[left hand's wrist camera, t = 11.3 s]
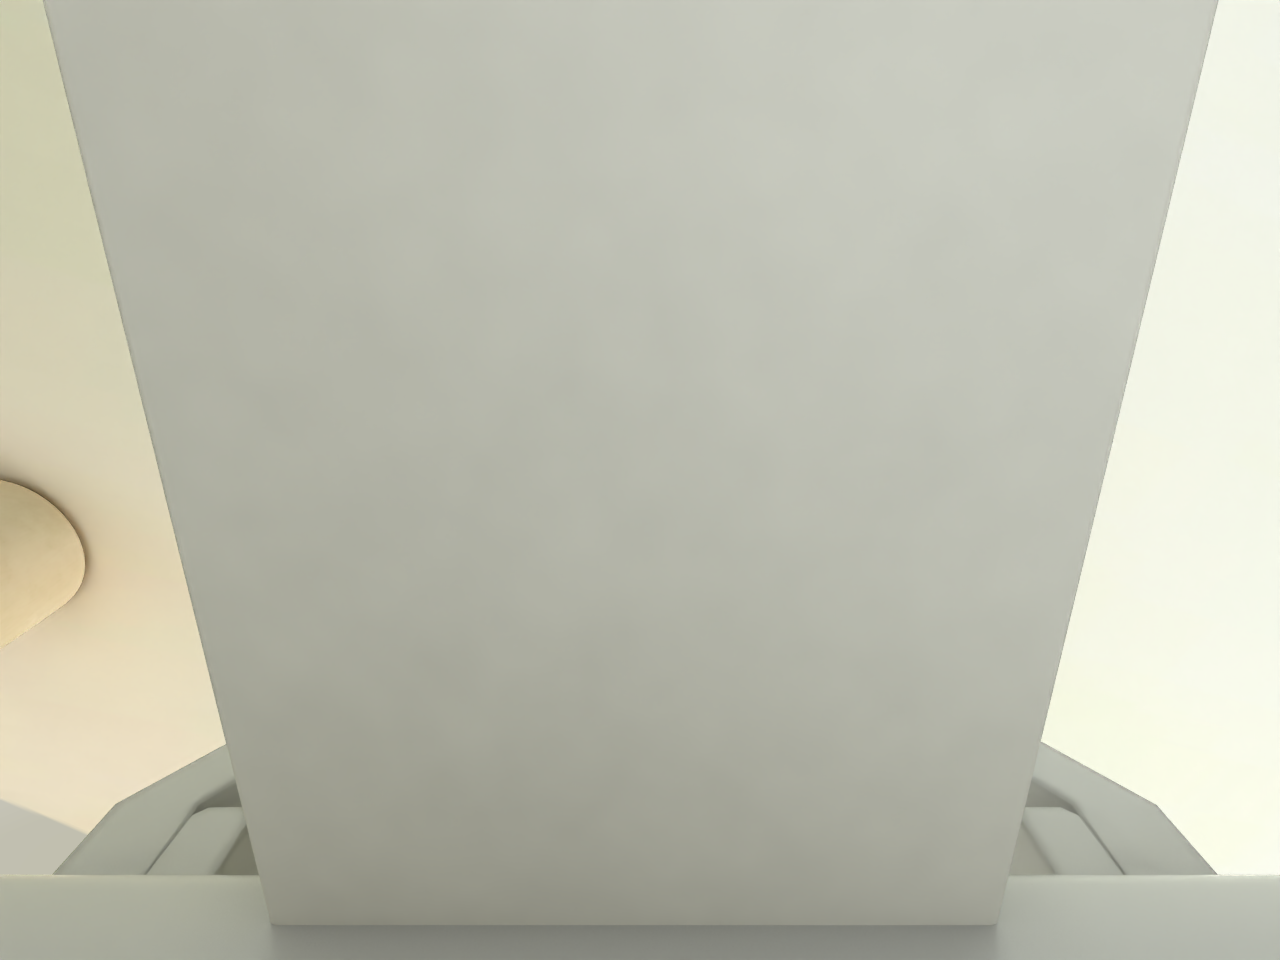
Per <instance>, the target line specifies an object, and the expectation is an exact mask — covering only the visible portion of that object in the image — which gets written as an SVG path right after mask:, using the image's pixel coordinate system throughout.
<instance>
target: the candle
mask: <svg viewBox="0 0 1280 960" xmlns="http://www.w3.org/2000/svg"><path fill="white" fill-rule="evenodd" d="M84 573H85V557H84V552H83V548H82V545H81V542H80V540H79V537H78V536H77V534H76V532H75V530H74V528H73V527H72V525H71V524H70V522H69V521H68V520H67V519H66V518H65V516H64V515H63V514H62V513H61V512H60V511H59V510H58V509H57V508H56V507H55V506H54V505H52V504H51V503H50V502H49V501H47V500H46V499H45V498H43V497H41V496H40V495H38V494H37V493H35V492H33V491H31V490H29V489H27V488H25V487H22V486H20V485H17V484H14V483H11V482H7V481H2V480H0V649H1V648H3V647H4V646H6V645H7V644H9V643H10V642H12V641H13V640H15V639H16V638H18V637H19V636H21V635H22V634H24V633H25V632H26V631H28V630H29V629H31V628H32V627H34V626H35V625H37V624H38V623H40V622H41V621H43V620H44V619H45V618H47V617H48V616H50V615H51V614H52V613H54V612H55V611H57V610H58V609H59V608H61V607H62V606H64V605H65V604H66V603H67V602H68V601H69V600H70V599H71V598H72V597H73V596H74V595H75V594H76V592H77V591H78V589H79V588H80V585H81V583H82V581H83V577H84Z"/></svg>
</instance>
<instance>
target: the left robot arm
mask: <svg viewBox="0 0 1280 960" xmlns="http://www.w3.org/2000/svg"><path fill="white" fill-rule="evenodd" d="M0 960H1280V875H1217V873H1216V872H1215V871H1214V870H1213V869H1212V868H1211V867H1210V865H1209V864H1208V863H1207V862H1206V861H1205V860H1204V859H1203V857H1202V856H1201V855H1200V854H1199V853H1198V852H1197V851H1196V850H1195V848H1194V847H1193V846H1192V845H1191V844H1190V843H1189V842H1188V840H1187V839H1186V838H1185V837H1184V836H1183V835H1182V834H1181V832H1180V831H1179V830H1178V829H1177V828H1176V827H1175V826H1174V824H1173V823H1172V822H1171V821H1170V820H1169V819H1168V818H1167V816H1166V815H1165V814H1164V813H1163V812H1162V811H1161V810H1160V809H1159V807H1158V806H1157V805H1155V804H1153V803H1152V802H1150V801H1148V800H1146V799H1144V798H1143V797H1141V796H1139V795H1137V794H1135V793H1134V792H1132V791H1130V790H1128V789H1126V788H1124V787H1123V786H1121V785H1119V784H1117V783H1115V782H1114V781H1112V780H1110V779H1108V778H1106V777H1104V776H1103V775H1101V774H1099V773H1097V772H1095V771H1094V770H1092V769H1090V768H1088V767H1086V766H1084V765H1083V764H1081V763H1079V762H1077V761H1075V760H1074V759H1072V758H1070V757H1068V756H1066V755H1064V754H1063V753H1061V752H1059V751H1057V750H1055V749H1054V748H1052V747H1050V746H1048V745H1046V744H1044V743H1043V742H1040V746H1039V750H1038V754H1037V758H1036V762H1035V767H1034V771H1033V775H1032V779H1031V783H1030V787H1029V792H1028V796H1027V800H1026V804H1025V808H1024V813H1023V817H1022V821H1021V825H1020V829H1019V833H1018V838H1017V842H1016V846H1015V850H1014V854H1013V858H1012V863H1011V867H1010V871H1009V875H1008V879H1007V883H1006V888H1005V892H1004V896H1003V900H1002V904H1001V908H1000V913H999V917H998V921H997V924H995V925H273V924H271V922H270V918H269V914H268V910H267V906H266V902H265V898H264V894H263V890H262V886H261V882H260V878H259V874H258V870H257V866H256V861H255V857H254V853H253V849H252V845H251V841H250V837H249V833H248V829H247V825H246V821H245V817H244V813H243V809H242V805H241V801H240V797H239V793H238V789H237V784H236V780H235V776H234V772H233V768H232V764H231V760H230V756H229V752H228V748H227V744H225V745H224V746H222V747H220V748H218V749H216V750H214V751H212V752H211V753H209V754H207V755H205V756H203V757H201V758H200V759H198V760H196V761H194V762H192V763H190V764H189V765H187V766H185V767H183V768H181V769H179V770H178V771H176V772H174V773H172V774H170V775H168V776H166V777H165V778H163V779H161V780H159V781H157V782H155V783H154V784H152V785H150V786H148V787H146V788H144V789H143V790H141V791H139V792H137V793H135V794H133V795H131V796H130V797H128V798H126V799H124V800H122V801H120V802H119V803H117V804H115V805H114V807H113V808H112V809H111V810H110V811H109V812H108V813H107V814H106V815H105V817H104V818H103V819H102V820H101V821H100V822H99V823H98V824H97V825H96V827H95V828H94V829H93V830H92V831H91V832H90V833H89V834H88V835H87V837H86V838H85V839H84V840H83V841H82V842H81V843H80V844H79V845H78V847H77V848H76V849H75V850H74V851H73V852H72V853H71V854H70V855H69V857H68V858H67V859H66V860H65V861H64V862H63V863H62V864H61V865H60V867H59V868H58V869H57V870H56V871H55V872H54V873H53V874H52V875H0Z"/></svg>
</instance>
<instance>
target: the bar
mask: <svg viewBox="0 0 1280 960" xmlns="http://www.w3.org/2000/svg"><path fill="white" fill-rule="evenodd" d="M43 2H44V6H45V11H46V15H47V19H48V23H49V27H50V31H51V35H52V39H53V43H54V47H55V51H56V55H57V59H58V63H59V67H60V71H61V75H62V79H63V83H64V88H65V92H66V96H67V100H68V104H69V108H70V112H71V116H72V120H73V124H74V128H75V132H76V136H77V140H78V144H79V148H80V152H81V156H82V160H83V165H84V169H85V173H86V177H87V181H88V185H89V189H90V193H91V197H92V201H93V205H94V209H95V213H96V217H97V221H98V225H99V229H100V233H101V237H102V242H103V246H104V250H105V254H106V258H107V262H108V266H109V270H110V274H111V278H112V282H113V286H114V290H115V294H116V298H117V302H118V306H119V310H120V314H121V318H122V323H123V327H124V331H125V335H126V339H127V343H128V347H129V351H130V355H131V359H132V363H133V367H134V371H135V375H136V379H137V383H138V387H139V391H140V395H141V400H142V404H143V408H144V412H145V416H146V420H147V424H148V428H149V432H150V436H151V440H152V444H153V448H154V452H155V456H156V460H157V464H158V468H159V472H160V477H161V481H162V485H163V489H164V493H165V497H166V501H167V505H168V509H169V513H170V517H171V521H172V525H173V529H174V533H175V537H176V541H177V545H178V549H179V554H180V558H181V562H182V566H183V570H184V574H185V578H186V582H187V586H188V590H189V594H190V598H191V602H192V606H193V610H194V614H195V618H196V622H197V626H198V631H199V635H200V639H201V643H202V647H203V651H204V655H205V659H206V663H207V667H208V671H209V675H210V679H211V683H212V687H213V691H214V695H215V699H216V703H217V708H218V712H219V716H220V720H221V724H222V728H223V732H224V736H225V740H226V744H227V748H228V752H229V756H230V760H231V764H232V768H233V772H234V776H235V780H236V784H237V789H238V793H239V797H240V801H241V805H242V809H243V813H244V817H245V821H246V825H247V829H248V833H249V837H250V841H251V845H252V849H253V853H254V857H255V861H256V866H257V870H258V874H259V878H260V882H261V886H262V890H263V894H264V898H265V902H266V906H267V910H268V914H269V918H270V922H271V924H273V925H995V924H997V921H998V917H999V913H1000V908H1001V904H1002V900H1003V896H1004V892H1005V888H1006V883H1007V879H1008V875H1009V871H1010V867H1011V863H1012V858H1013V854H1014V850H1015V846H1016V842H1017V838H1018V833H1019V829H1020V825H1021V821H1022V817H1023V813H1024V808H1025V804H1026V800H1027V796H1028V792H1029V787H1030V783H1031V779H1032V775H1033V771H1034V767H1035V762H1036V758H1037V754H1038V750H1039V746H1040V742H1041V737H1042V733H1043V729H1044V725H1045V721H1046V717H1047V712H1048V708H1049V704H1050V700H1051V696H1052V692H1053V687H1054V683H1055V679H1056V675H1057V671H1058V667H1059V662H1060V658H1061V654H1062V650H1063V646H1064V642H1065V637H1066V633H1067V629H1068V625H1069V621H1070V617H1071V612H1072V608H1073V604H1074V600H1075V596H1076V592H1077V587H1078V583H1079V579H1080V575H1081V571H1082V567H1083V562H1084V558H1085V554H1086V550H1087V546H1088V542H1089V537H1090V533H1091V529H1092V525H1093V521H1094V517H1095V512H1096V508H1097V504H1098V500H1099V496H1100V492H1101V487H1102V483H1103V479H1104V475H1105V471H1106V467H1107V462H1108V458H1109V454H1110V450H1111V446H1112V442H1113V437H1114V433H1115V429H1116V425H1117V421H1118V417H1119V412H1120V408H1121V404H1122V400H1123V396H1124V392H1125V387H1126V383H1127V379H1128V375H1129V371H1130V367H1131V362H1132V358H1133V354H1134V350H1135V346H1136V341H1137V337H1138V333H1139V329H1140V325H1141V321H1142V316H1143V312H1144V308H1145V304H1146V300H1147V296H1148V291H1149V287H1150V283H1151V279H1152V275H1153V271H1154V266H1155V262H1156V258H1157V254H1158V250H1159V246H1160V241H1161V237H1162V233H1163V229H1164V225H1165V221H1166V216H1167V212H1168V208H1169V204H1170V200H1171V196H1172V191H1173V187H1174V183H1175V179H1176V175H1177V171H1178V166H1179V162H1180V158H1181V154H1182V150H1183V146H1184V141H1185V137H1186V133H1187V129H1188V125H1189V121H1190V116H1191V112H1192V108H1193V104H1194V100H1195V96H1196V91H1197V87H1198V83H1199V79H1200V75H1201V71H1202V66H1203V62H1204V58H1205V54H1206V50H1207V46H1208V41H1209V37H1210V33H1211V29H1212V25H1213V21H1214V16H1215V12H1216V8H1217V4H1218V0H43Z"/></svg>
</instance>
